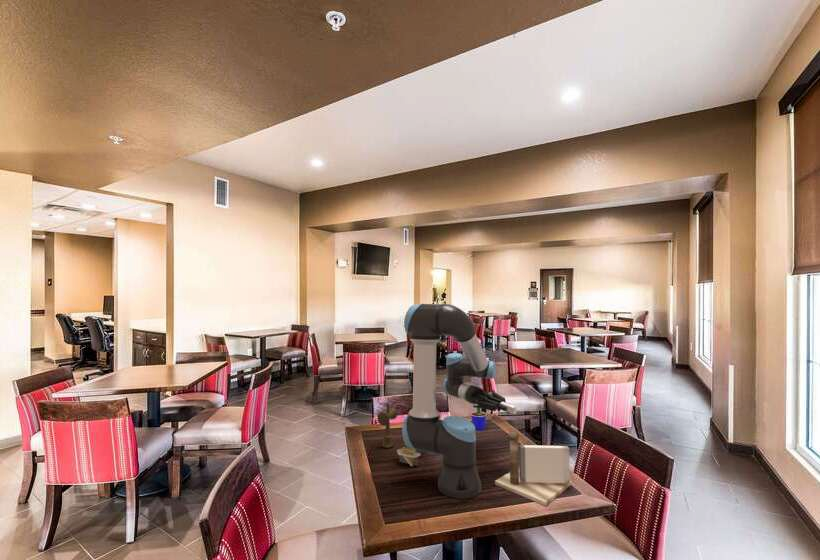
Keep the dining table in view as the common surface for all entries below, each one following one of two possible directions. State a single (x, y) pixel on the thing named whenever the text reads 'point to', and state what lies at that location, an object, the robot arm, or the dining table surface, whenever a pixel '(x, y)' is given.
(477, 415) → the hyacinth
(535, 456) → the gate
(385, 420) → the kendama
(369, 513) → the dining table surface
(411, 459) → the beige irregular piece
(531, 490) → the gate frame
